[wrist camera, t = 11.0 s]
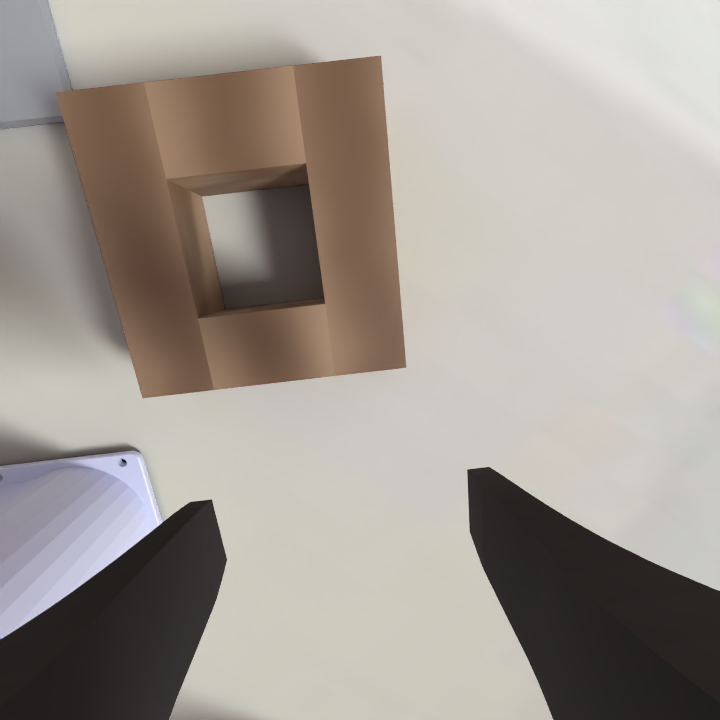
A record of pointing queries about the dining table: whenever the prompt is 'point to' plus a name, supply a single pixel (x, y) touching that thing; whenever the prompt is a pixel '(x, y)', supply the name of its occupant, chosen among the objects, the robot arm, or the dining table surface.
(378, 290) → the block
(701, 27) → the dining table surface
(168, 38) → the dining table surface
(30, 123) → the pad
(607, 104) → the dining table surface
